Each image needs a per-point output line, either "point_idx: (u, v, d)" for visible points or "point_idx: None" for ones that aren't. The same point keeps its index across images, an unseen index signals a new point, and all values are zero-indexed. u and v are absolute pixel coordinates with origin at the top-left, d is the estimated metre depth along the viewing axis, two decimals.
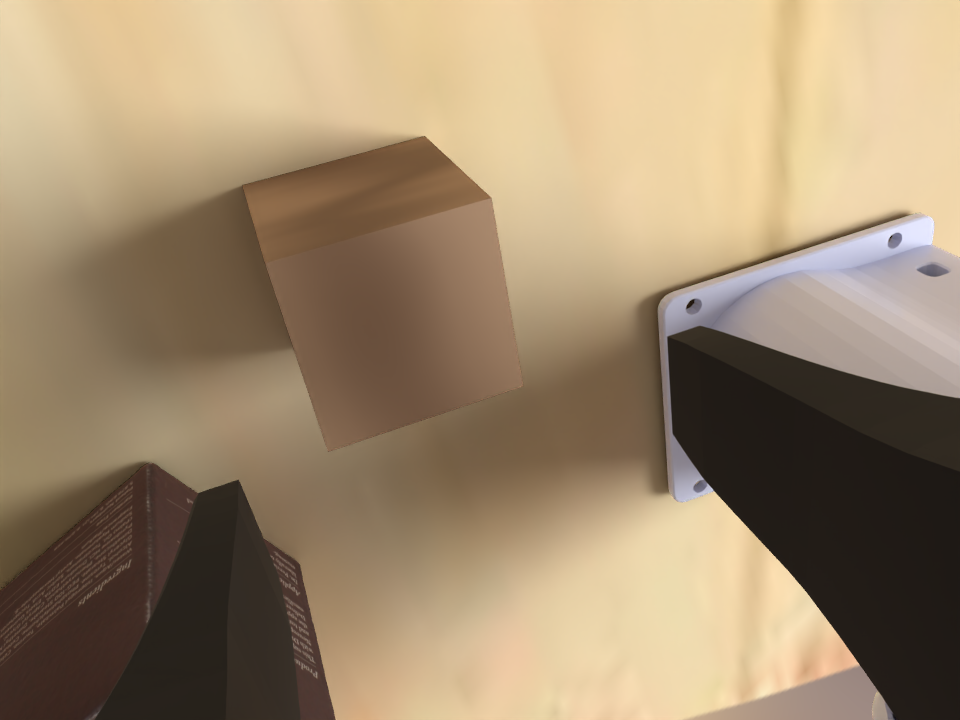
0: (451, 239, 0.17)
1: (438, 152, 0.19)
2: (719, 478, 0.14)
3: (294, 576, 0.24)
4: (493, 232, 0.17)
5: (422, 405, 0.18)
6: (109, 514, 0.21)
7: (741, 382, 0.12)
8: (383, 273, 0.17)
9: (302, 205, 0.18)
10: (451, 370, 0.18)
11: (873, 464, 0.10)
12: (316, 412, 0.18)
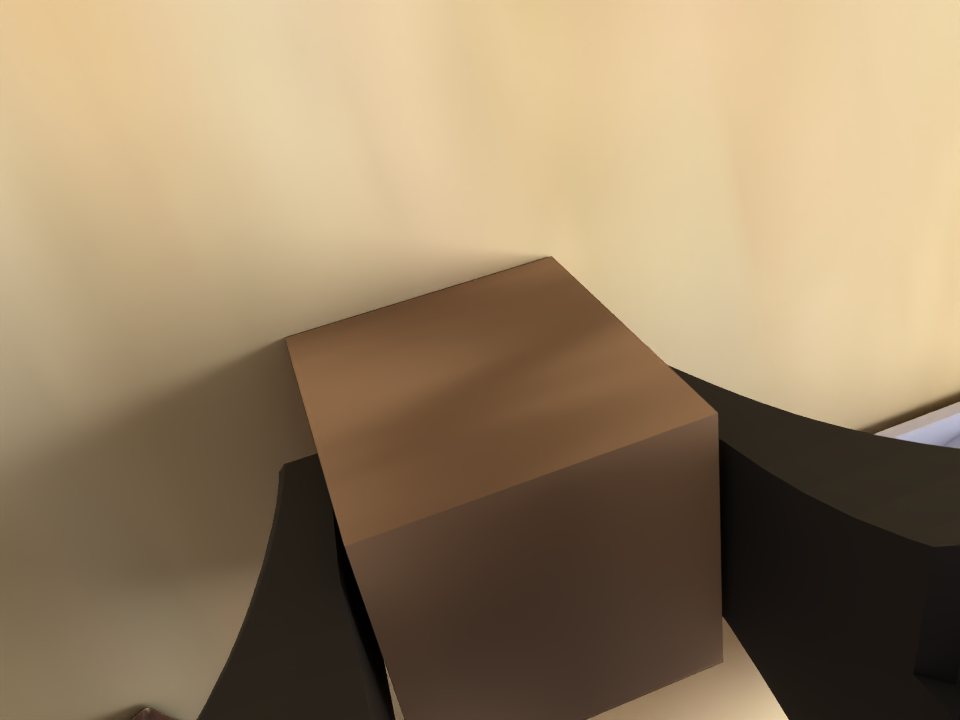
0: (648, 478, 0.10)
1: (587, 294, 0.13)
2: None
3: None
4: (713, 462, 0.10)
5: (574, 707, 0.12)
6: None
7: None
8: (535, 539, 0.10)
9: (387, 398, 0.11)
10: (622, 656, 0.11)
11: (776, 501, 0.10)
12: None
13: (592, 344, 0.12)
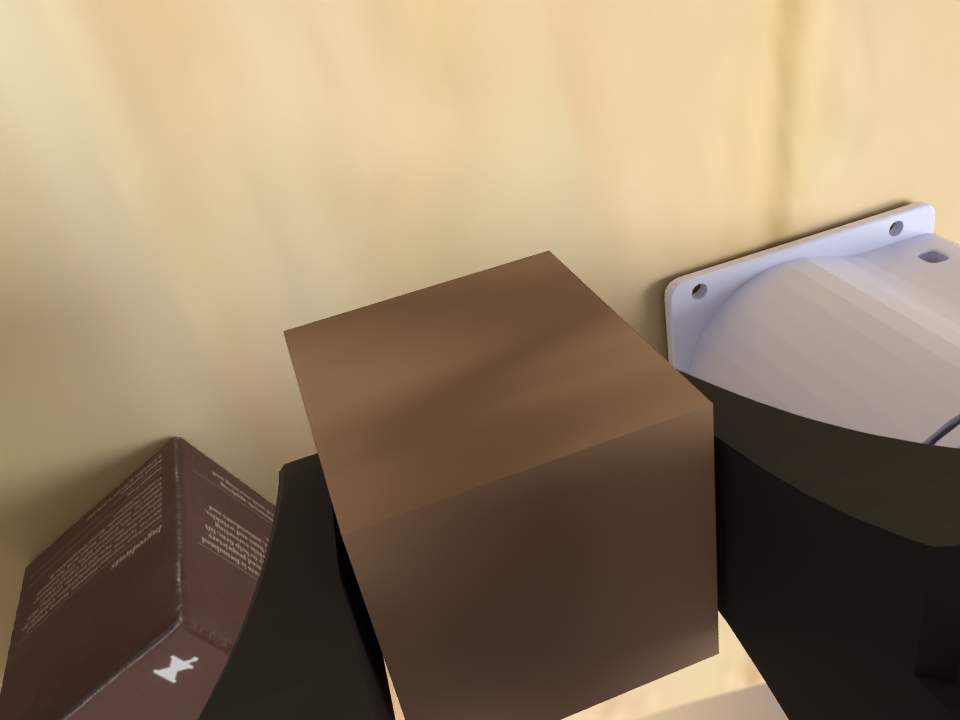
0: (643, 469, 0.10)
1: (584, 287, 0.13)
2: None
3: None
4: (708, 453, 0.10)
5: (570, 697, 0.12)
6: (140, 485, 0.22)
7: None
8: (530, 529, 0.10)
9: (384, 390, 0.11)
10: (619, 647, 0.12)
11: (776, 501, 0.10)
12: None
13: (588, 337, 0.12)
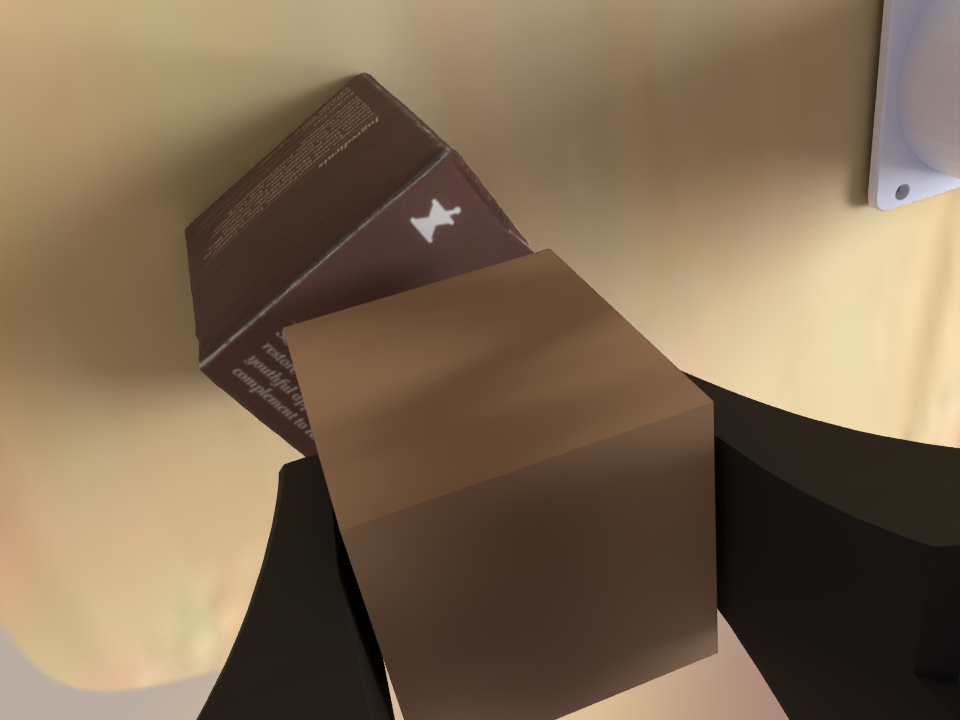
0: (644, 466, 0.10)
1: (585, 285, 0.13)
2: None
3: None
4: (708, 451, 0.10)
5: (568, 696, 0.12)
6: (328, 112, 0.19)
7: None
8: (530, 527, 0.10)
9: (383, 387, 0.11)
10: (617, 645, 0.11)
11: (777, 501, 0.10)
12: None
13: (589, 334, 0.12)
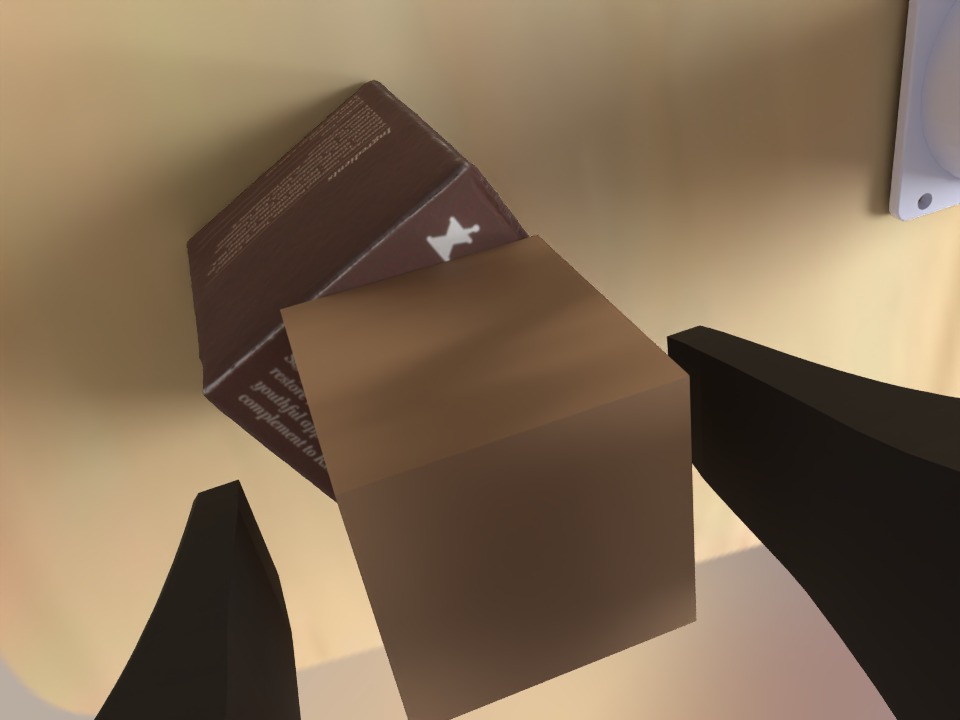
0: (622, 437, 0.11)
1: (570, 269, 0.13)
2: (719, 478, 0.14)
3: None
4: (685, 423, 0.11)
5: (553, 661, 0.12)
6: (336, 122, 0.19)
7: (741, 381, 0.12)
8: (515, 494, 0.10)
9: (377, 363, 0.12)
10: (599, 611, 0.12)
11: (873, 464, 0.10)
12: (399, 687, 0.11)
13: (573, 314, 0.12)
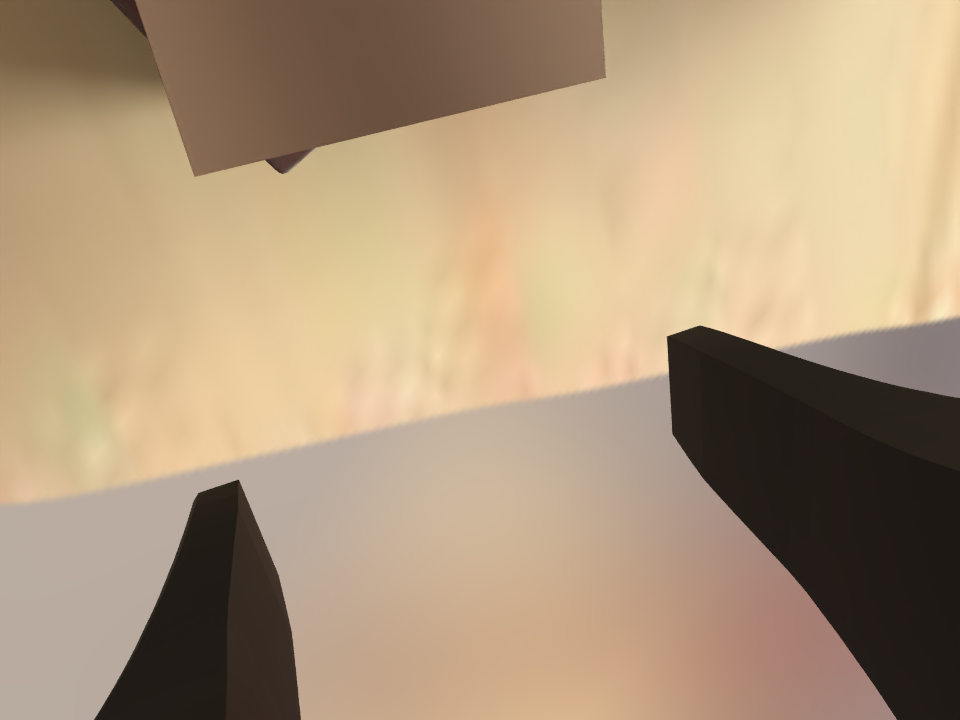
0: None
1: None
2: (719, 478, 0.14)
3: None
4: None
5: (398, 91, 0.09)
6: None
7: (742, 382, 0.12)
8: None
9: None
10: (461, 11, 0.09)
11: (873, 464, 0.10)
12: (161, 69, 0.08)
13: None
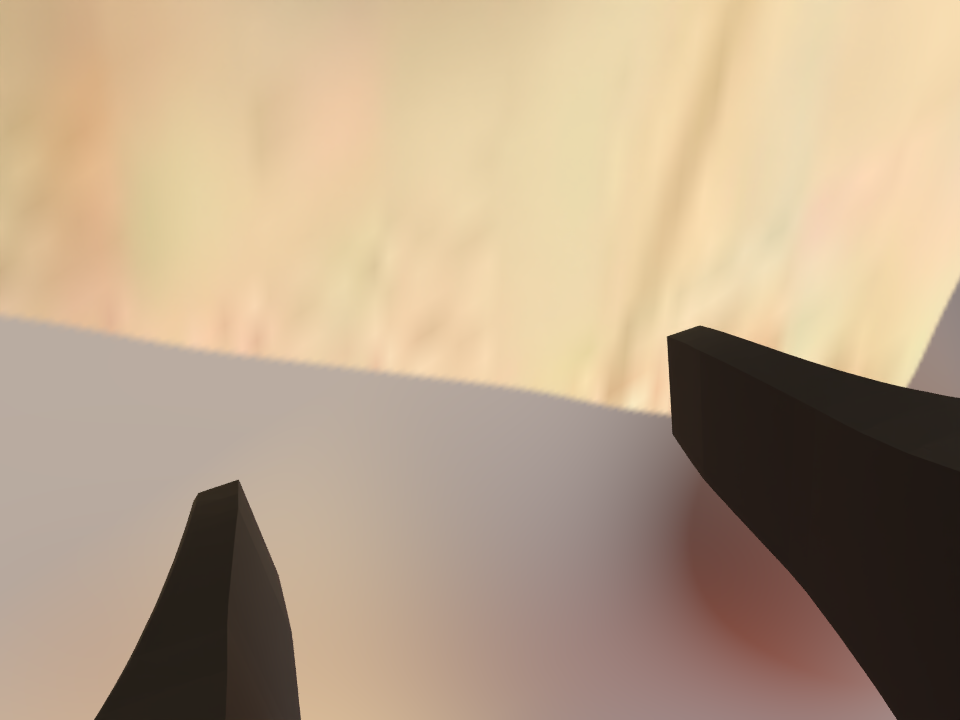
0: None
1: None
2: (719, 478, 0.14)
3: None
4: None
5: None
6: None
7: (741, 382, 0.12)
8: None
9: None
10: None
11: (873, 464, 0.10)
12: None
13: None
